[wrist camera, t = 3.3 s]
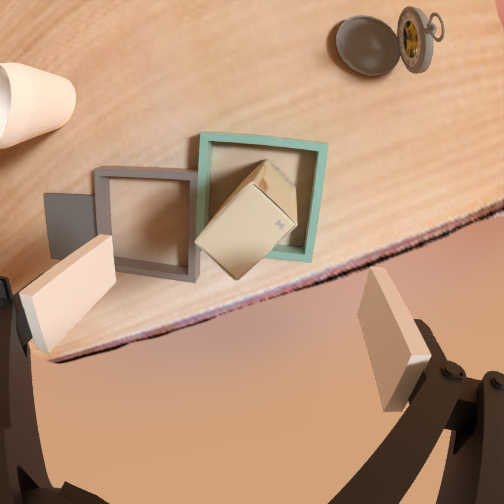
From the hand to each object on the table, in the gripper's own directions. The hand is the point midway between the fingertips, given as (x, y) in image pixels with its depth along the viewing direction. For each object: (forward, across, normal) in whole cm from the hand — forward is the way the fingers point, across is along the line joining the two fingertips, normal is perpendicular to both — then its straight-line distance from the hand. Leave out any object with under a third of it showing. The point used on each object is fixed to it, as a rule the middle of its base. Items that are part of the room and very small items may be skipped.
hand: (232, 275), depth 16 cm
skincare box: (+19, 0, 0) cm, 19 cm away
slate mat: (+18, -23, -6) cm, 30 cm away
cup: (+18, -26, +10) cm, 33 cm away
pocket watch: (+19, +10, +17) cm, 27 cm away
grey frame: (+18, -12, -4) cm, 23 cm away
